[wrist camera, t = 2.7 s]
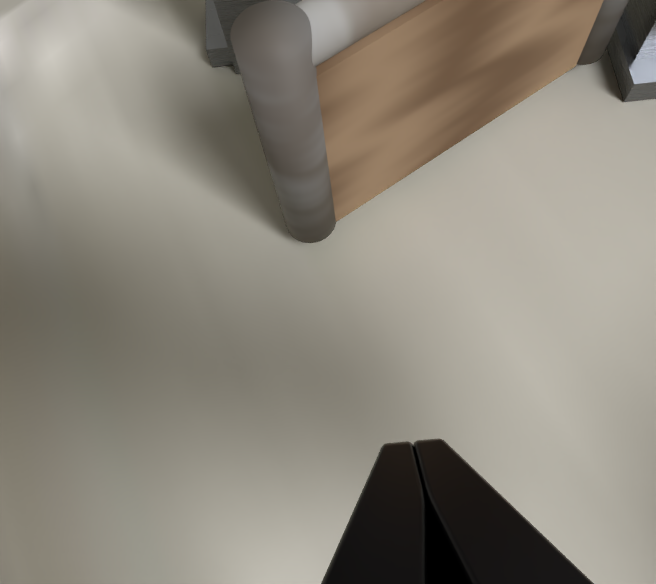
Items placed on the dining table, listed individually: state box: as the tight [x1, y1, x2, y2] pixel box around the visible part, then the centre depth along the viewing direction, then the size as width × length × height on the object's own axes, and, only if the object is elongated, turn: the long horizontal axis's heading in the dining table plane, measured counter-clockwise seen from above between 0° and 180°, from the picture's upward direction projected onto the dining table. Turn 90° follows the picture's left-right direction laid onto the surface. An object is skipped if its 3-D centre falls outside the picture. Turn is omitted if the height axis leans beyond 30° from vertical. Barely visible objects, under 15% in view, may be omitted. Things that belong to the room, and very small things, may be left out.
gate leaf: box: [230, 0, 629, 243], centre depth 19 cm, size 14×2×9 cm, turn 124°
